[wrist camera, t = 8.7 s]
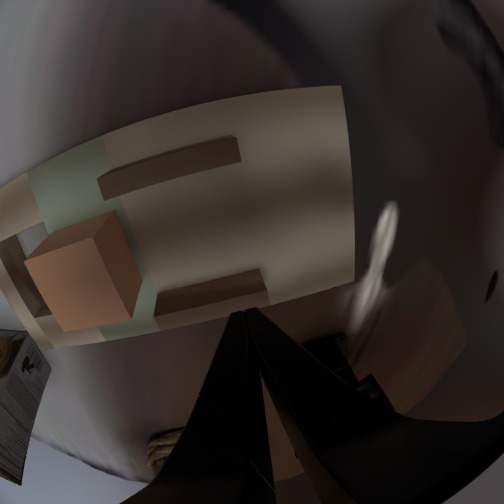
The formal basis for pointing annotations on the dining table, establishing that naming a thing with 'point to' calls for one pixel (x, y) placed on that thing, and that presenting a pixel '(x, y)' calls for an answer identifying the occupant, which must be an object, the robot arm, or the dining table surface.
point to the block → (87, 273)
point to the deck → (199, 210)
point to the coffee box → (18, 398)
